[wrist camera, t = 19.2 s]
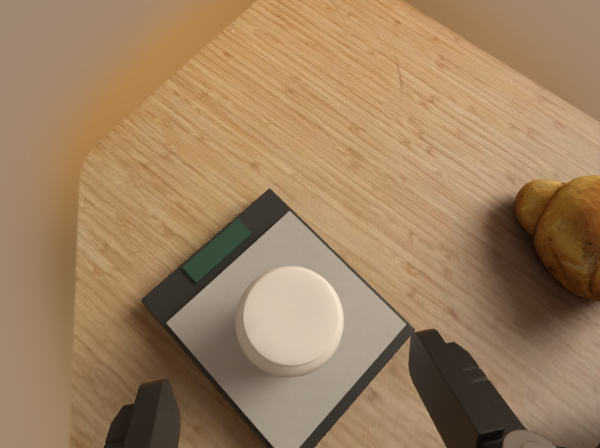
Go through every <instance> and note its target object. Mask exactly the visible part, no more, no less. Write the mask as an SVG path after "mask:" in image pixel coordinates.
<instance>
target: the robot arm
mask: <svg viewBox="0 0 600 448" xmlns="http://www.w3.org/2000/svg"><path fill="white" fill-rule="evenodd" d="M409 372H410V376H411V379H412V381H413V384H414V386H415V388H416V389H417V391H418V393H419V395H420V397H421V399H422V401H423V403H424V405H425V407H426V409H427V411H428V413H429V415H430V416H431V418H432V420H433V422H434V424H435V426H436V428H437V430H438V432H439V434H440V436H441V438H442V440H443V442H444V443H445V445H446V447H447V448H564V447H558V446H555V445H554V444H552V443H551V442H550V441H549V440H547V439H546V438H545V437H543V436H541V435H539V434H537V433H535V432H532V431H528V430H527V429H526V428H525V427H524V426H523V425H522V423H521V422H520V421H519V420H518V418H517V417H516V415H515V414H514V413H513V411H512V410H511V409H510V407H509V406H508V405H507V403H506V402H505V401H504V399H503V398H502V397H501V395H500V394H499V393H498V391H497V390H496V389H495V387H494V386H493V385H492V383H491V382H490V381H488V379H487V377H486V375H485V374H484V373H483V371H482V370H481V369H479V366H478V364H477V363H476V362H475V360H474V359H473V358H472V356H471V355H470V354H469V352H467V351H466V350H464V349H463V348H462V347H460V346H459V345H458V344H456V343H455V342H451V343H445V341H444V340H443V338H442V337H441V335H440V334H439V333H438V331H437V330H435V329H429V330H423V331H418V332H413V333H412V334H411V339H410V351H409ZM179 435H180V413H179V409H178V406H177V403H176V400H175V398H174V395H173V392H172V389H171V387H170V384H169V381H168V380H167V379H163V380H158V381H153V382H147V383H142V384H141V385H140V386H139V389H138V392H137V396H136V400H135V403H134V404H130V405H124V406H123V407H122V409H121V410H120V411H119V413H118V414H117V416H116V417H115V418H114V420H113V421H112V423H111V425H110V429H109V432H108V435H107V438H106V441H105V442H106V444H105V445H104V447H103V448H178V443H179ZM598 448H600V445H599V447H598Z"/></svg>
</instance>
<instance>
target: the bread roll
mask: <svg viewBox="0 0 600 448" xmlns="http://www.w3.org/2000/svg"><path fill="white" fill-rule="evenodd" d="M515 208H516V209H515V211H516V215H517V219H518V221H519V223H520V225H521V226H522V227H523V228H524V229H525V230H526V232H527V233H528V234H529V235H530V236H532V237H533V239H534V243H533V244H534V248H535V250H536V251H537V254H538V257H539V259H540V260H541V261H542V262H543V264H544V266H545V267H546V269H547V270H548V271H549V272H550V273H551V274H552V275H553V276H554V277H555V278H556V279H557V280H558V281H559V282H560V283H561V284H562V285H563V286H565V287H566V288H567V289H568V290H570V291H572V292H573V293H575V294H577V295H579V296H581V297H584V298H587V299H592V300H598V301H600V176H597V175H594V176H582V177H578V178H575V179H574V180H572V181H570V182H568V183H562V182H558V181H552V180H534V181H531V182H529V183H527V184H526V185H524V186H523V187H522V188H521V189H520V191H519V192H518V194H517V196H516V201H515Z"/></svg>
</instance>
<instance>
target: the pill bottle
mask: <svg viewBox="0 0 600 448" xmlns="http://www.w3.org/2000/svg"><path fill="white" fill-rule="evenodd" d="M343 327H344V316H343V309H342V305H341V302H340V300H339V297H338V295H337V293H336V292H335V290H334V289H333V287H332V286H331V285H330V284H329V283H328V282H327V281H326V280H325V279H324V278H323V277H322V276H320V275H319V274H317V273H315V272H314V271H312V270H309V269H306V268H303V267H297V266H284V267H278V268H274V269H271V270H269V271H267V272H265V273H263V274H261V275H260V276H258V277H257V278H256V279H255V280H254V281H252V282H251V284H250V285H249V286H248V287H247V288H246V290H245V291H244V293H243V294H242V296H241V298H240V301H239V303H238V307H237V311H236V317H235V328H236V334H237V338H238V341H239V344H240V346H241V348H242V350H243V352H244V353H245V355H246V356H247V358H248V359H249V360H250V361H251V362H252V363H253V364H254V365H255V366H257V367H258V368H259V369H261V370H262V371H264V372H266V373H268V374H271V375H274V376H278V377H286V378H290V377H299V376H303V375H307V374H310V373H312V372H314V371H316V370H317V369H319V368H320V367H322V366H323V365H324V364H325V363H326V362H327V361H328V360H329V359H330V358H331V357H332V355H333V354H334V352H335V351H336V349H337V347H338V345H339V343H340V340H341V337H342V333H343Z"/></svg>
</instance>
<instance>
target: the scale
mask: <svg viewBox="0 0 600 448" xmlns="http://www.w3.org/2000/svg"><path fill="white" fill-rule="evenodd" d="M284 266H297V267H303V268H306V269H309V270H312V271H314V272H315V273H317V274H319V275H320V276H322V277H323V278H324V279H325V280H326V281H327V282H328V283H329V284H330V285H331V286H332V287H333V289H334V290H335V292H336V293H337V295H338V297H339V300H340V302H341V305H342V309H343V316H344V327H343V333H342V337H341V340H340V343H339V345H338V347H337V349H336V351H335V352H334V354H333V355H332V357H331V358H330V359H329V360H328V361H327V362H326V363H325V364H324V365H323V366H322V367H320V368H319V369H317V370H316V371H314V372H312V373H310V374H307V375H303V376H299V377H290V378H286V377H278V376H274V375H271V374H268V373H266V372H264V371H262V370H261V369H259V368H258V367H257V366H255V365H254V364H253V363H252V362H251V361H250V360H249V359H248V358H247V356H246V355H245V353H244V352H243V350H242V348H241V346H240V344H239V341H238V338H237V334H236V328H235V317H236V311H237V307H238V303H239V301H240V298H241V296H242V294H243V293H244V291H245V290H246V288H247V287H248V286H249V285H250V284H251V282H252V281H254V280H255V279H256V278H257V277H258V276H260V275H261V274H263V273H265V272H267V271H269V270H271V269H274V268H278V267H284ZM141 301H142V302H143V304H144V305H145V306H146V307H147V308H148V309H149V311H150V312H151V313H152V314H153V315H154V316H155V318H156V319H157V320H158V321H159V322H160V323H161V325H162V326H163V327H164V328H165V329H166V330H167V331H168V333H169V334H170V335H171V336H172V337H173V338H174V340H175V341H176V342H177V343H178V344H179V345H180V347H181V348H182V349H183V350H184V351H185V352H186V354H187V355H188V356H189V357H190V358H191V359H192V361H193V362H194V363H195V364H196V365H197V366H198V368H199V369H200V370H201V371H202V372H203V373H204V374H205V376H206V377H207V378H208V379H209V380H210V381H211V383H212V384H213V385H214V386H215V387H216V388H217V390H218V391H219V392H220V393H221V394H222V395H223V397H224V398H225V399H226V400H227V401H228V402H229V404H230V405H231V406H232V407H233V408H234V409H235V411H236V412H237V413H238V414H239V415H240V416H241V418H242V419H243V420H244V421H245V422H246V423H247V424H248V426H249V427H250V428H251V429H252V430H253V431H254V433H255V434H256V435H257V436H258V437H259V438H260V440H261V441H262V442H263V443H264V444H265V445H266V447H267V448H314V447H315V446H316V445H317V444H318V443H319V442H320V440H321V439H322V438H323V437H324V436H325V435H326V433H327V432H328V431H329V430H330V429H331V428H332V426H333V425H334V424H335V423H336V422H337V421H338V419H339V418H340V417H341V416H342V415H343V414H344V412H345V411H346V410H347V409H348V408H349V407H350V405H351V404H352V403H353V402H354V401H355V400H356V398H357V397H358V396H359V395H360V394H361V393H362V391H363V390H364V389H365V388H366V387H367V386H368V384H369V383H370V382H371V381H372V380H373V379H374V377H375V376H376V375H377V374H378V373H379V372H380V370H381V369H382V368H383V367H384V366H385V365H386V364H387V362H388V361H389V360H390V359H391V358H392V357H393V355H394V354H395V353H396V352H397V351H398V350H399V348H400V347H401V346H402V345H403V344H404V343H405V341H406V340H407V339H408V338H409V337H410V336H411V334H412V333H413V332H414V331H415V329H414V328H413V327H412V326H411V325H410V324H409V323H408V322H407V321H406V320H405V319H404V318H403V317H402V316H401V315H400V314H399V313H398V312H397V311H396V310H395V309H394V308H393V307H392V306H391V305H390V304H389V303H388V302H387V301H385V300H384V299H383V298H382V297H381V296H380V295H379V294H378V293H377V292H376V291H375V290H374V289H373V288H372V287H371V286H370V285H369V284H368V283H367V282H366V281H365V280H364V279H363V278H362V277H361V276H360V275H359V274H358V273H357V272H356V271H355V270H354V269H353V268H351V267H350V266H349V265H348V264H347V263H346V262H345V261H344V260H343V259H342V258H341V257H340V256H339V255H338V254H337V253H336V252H335V251H334V250H333V249H332V248H331V247H330V246H329V245H328V244H327V243H326V242H325V241H324V240H323V239H322V238H321V237H320V236H319V235H317V234H316V233H315V232H314V231H313V230H312V229H311V228H310V227H309V226H308V225H307V224H306V223H305V222H304V221H303V220H302V219H301V218H300V217H299V216H298V215H297V214H296V213H295V212H294V211H293V210H292V209H291V208H290V207H289V206H288V205H287V204H286V203H285V202H283V201H282V200H281V199H280V198H279V197H278V196H277V195H276V194H275V193H274V192H273V191H272V190H271V189H268V190H267V191H266V192H265V193H264V194H262V195H261V196H260V197H259V198H258V199H257V200H256V201H254V202H253V203H252V204H251V205H250V206H249V207H248V208H246V209H245V210H244V211H243V212H242V213H241V214H239V215H238V216H237V217H236V218H235V219H234V220H233V221H231V222H230V223H229V224H228V225H227V226H226V227H224V228H223V229H222V230H221V231H220V232H219V233H218V234H216V235H215V236H214V237H213V238H212V239H211V240H210V241H208V242H207V243H206V244H205V245H204V246H203V247H201V248H200V249H199V250H198V251H197V252H196V253H195V254H193V255H192V256H191V257H190V258H189V259H188V260H187V261H185V262H184V263H183V264H182V265H181V266H180V267H178V268H177V269H176V270H175V271H174V272H173V273H172V274H170V275H169V276H168V277H167V278H166V279H165V280H163V281H162V282H161V283H160V284H159V285H158V286H157V287H155V288H154V289H153V290H152V291H151V292H150V293H149V294H147V295H146V296H145V297H144V298H143V299H142V300H141Z"/></svg>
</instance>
